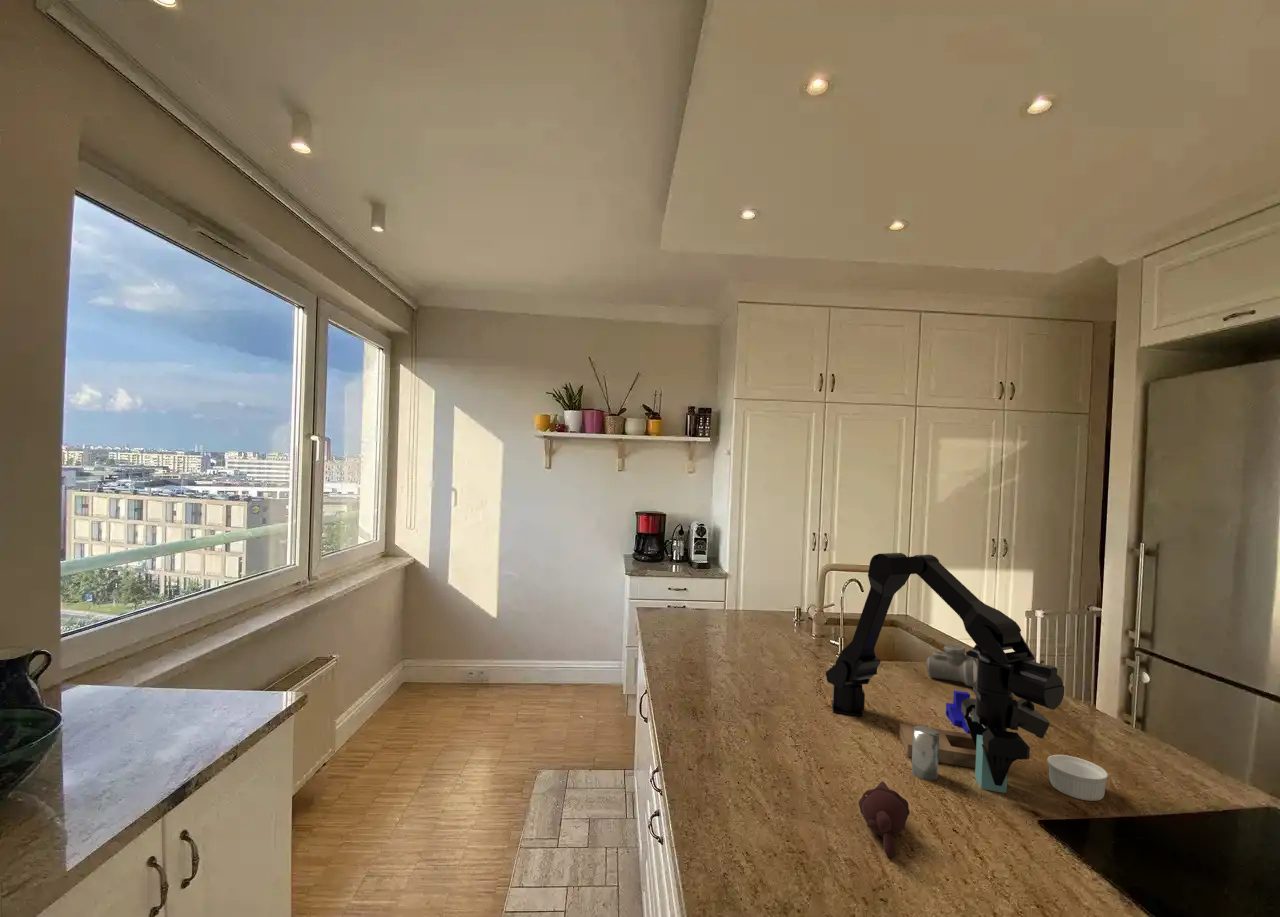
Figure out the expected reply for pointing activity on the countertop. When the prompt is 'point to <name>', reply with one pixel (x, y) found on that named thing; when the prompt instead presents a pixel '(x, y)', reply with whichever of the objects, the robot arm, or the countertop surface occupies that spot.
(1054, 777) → the ramekin
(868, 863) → the countertop surface
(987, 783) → the square peg
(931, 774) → the round peg
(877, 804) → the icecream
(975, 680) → the pipe fitting
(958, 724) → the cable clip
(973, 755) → the socket board
